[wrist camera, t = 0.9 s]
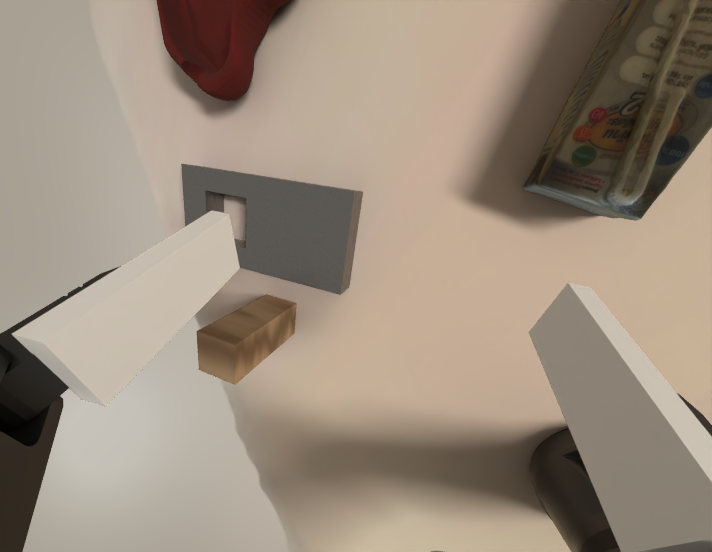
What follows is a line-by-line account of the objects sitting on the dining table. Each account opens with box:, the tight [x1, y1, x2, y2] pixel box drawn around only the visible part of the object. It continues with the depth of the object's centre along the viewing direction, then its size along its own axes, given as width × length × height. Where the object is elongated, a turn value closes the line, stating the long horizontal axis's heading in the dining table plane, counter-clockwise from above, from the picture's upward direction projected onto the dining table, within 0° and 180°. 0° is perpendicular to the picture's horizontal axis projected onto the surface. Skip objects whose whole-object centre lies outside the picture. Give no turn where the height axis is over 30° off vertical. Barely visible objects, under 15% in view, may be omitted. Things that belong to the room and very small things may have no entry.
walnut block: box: [197, 295, 296, 384], centre depth 34 cm, size 5×5×12 cm
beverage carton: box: [523, 0, 712, 220], centre depth 19 cm, size 8×19×7 cm, turn 161°
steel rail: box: [181, 164, 363, 295], centre depth 34 cm, size 12×24×3 cm, turn 82°
